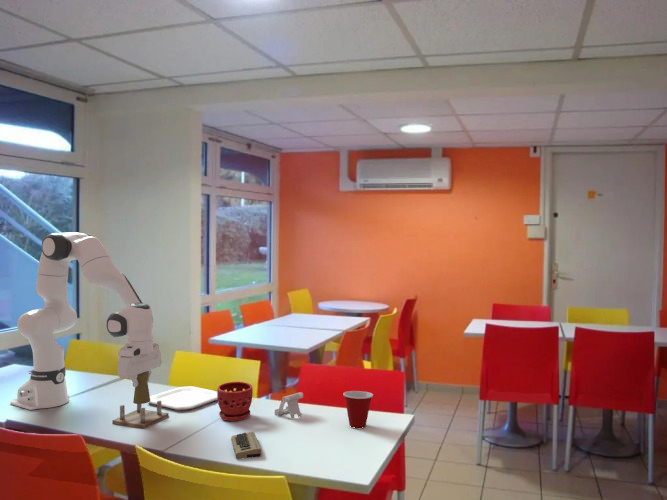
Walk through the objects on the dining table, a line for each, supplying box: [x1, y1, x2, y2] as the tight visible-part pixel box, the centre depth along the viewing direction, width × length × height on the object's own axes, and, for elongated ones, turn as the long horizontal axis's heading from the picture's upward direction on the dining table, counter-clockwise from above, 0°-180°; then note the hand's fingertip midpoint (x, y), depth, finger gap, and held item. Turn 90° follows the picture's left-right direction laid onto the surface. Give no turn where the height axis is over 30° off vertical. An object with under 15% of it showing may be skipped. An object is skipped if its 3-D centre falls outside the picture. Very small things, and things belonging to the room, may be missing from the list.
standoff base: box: [112, 401, 170, 429], centre depth 208 cm, size 14×14×6 cm
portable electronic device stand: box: [274, 391, 304, 419], centre depth 214 cm, size 9×8×8 cm
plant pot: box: [217, 381, 254, 422], centre depth 211 cm, size 13×13×12 cm
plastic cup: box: [343, 390, 374, 429], centre depth 202 cm, size 11×11×12 cm
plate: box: [148, 385, 218, 411], centre depth 232 cm, size 25×25×2 cm
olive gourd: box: [132, 372, 151, 405], centre depth 207 cm, size 6×6×11 cm
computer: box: [230, 431, 263, 460], centre depth 181 cm, size 16×8×3 cm, turn 15°
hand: (141, 384), depth 207 cm, fingers closed on olive gourd, 4 cm apart
